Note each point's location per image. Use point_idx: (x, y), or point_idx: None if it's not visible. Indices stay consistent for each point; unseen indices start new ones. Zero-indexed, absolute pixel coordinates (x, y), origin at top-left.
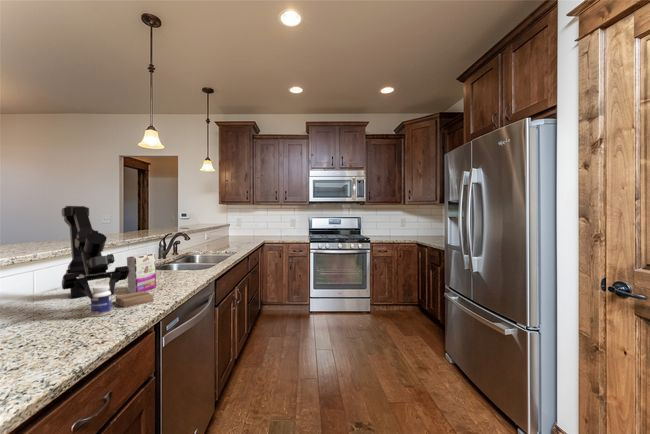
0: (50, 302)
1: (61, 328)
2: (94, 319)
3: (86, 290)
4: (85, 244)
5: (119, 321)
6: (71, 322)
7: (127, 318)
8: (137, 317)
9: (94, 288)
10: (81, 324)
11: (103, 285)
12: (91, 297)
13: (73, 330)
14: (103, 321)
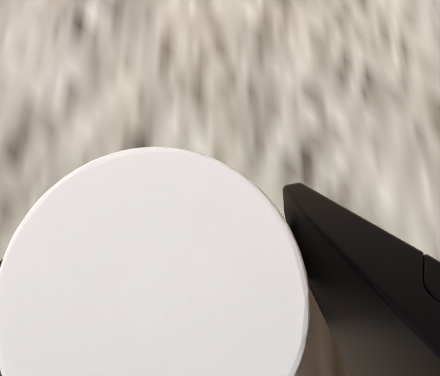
0: None
1: (423, 93)
2: (247, 153)
3: (403, 244)
4: None
5: (113, 2)
6: (383, 188)
7: (64, 30)
8: (9, 10)
9: (273, 205)
10: (318, 95)
11: (98, 362)
12: (293, 185)
13: (351, 7)
14: (196, 67)
